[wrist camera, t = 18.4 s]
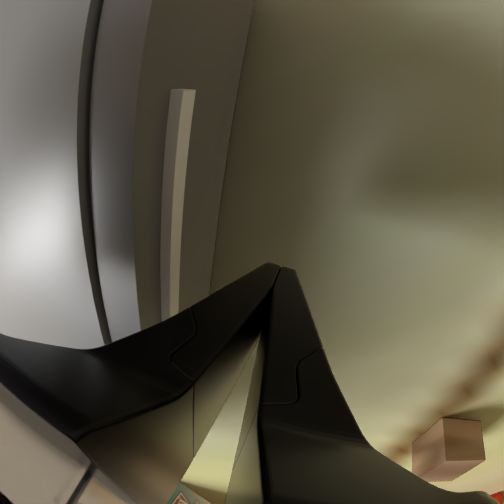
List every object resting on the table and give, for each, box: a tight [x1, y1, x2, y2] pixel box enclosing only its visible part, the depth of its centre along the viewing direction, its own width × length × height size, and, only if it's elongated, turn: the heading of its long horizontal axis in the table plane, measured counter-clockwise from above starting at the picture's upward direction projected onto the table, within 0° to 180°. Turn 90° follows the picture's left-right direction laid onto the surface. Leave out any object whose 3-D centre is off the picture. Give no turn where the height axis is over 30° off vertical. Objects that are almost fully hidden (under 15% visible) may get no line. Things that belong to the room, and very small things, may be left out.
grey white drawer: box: [89, 0, 255, 342], centre depth 11 cm, size 18×20×6 cm
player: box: [0, 0, 112, 349], centre depth 11 cm, size 18×20×6 cm
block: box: [412, 418, 486, 482], centre depth 15 cm, size 4×4×4 cm
